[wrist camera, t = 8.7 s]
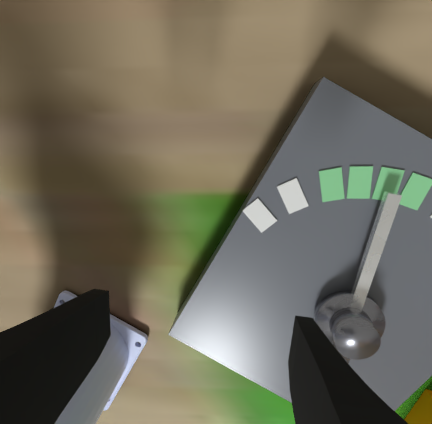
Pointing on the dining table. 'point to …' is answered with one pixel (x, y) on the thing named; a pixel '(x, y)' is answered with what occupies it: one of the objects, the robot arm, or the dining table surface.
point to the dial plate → (323, 248)
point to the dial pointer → (360, 296)
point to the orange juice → (421, 410)
